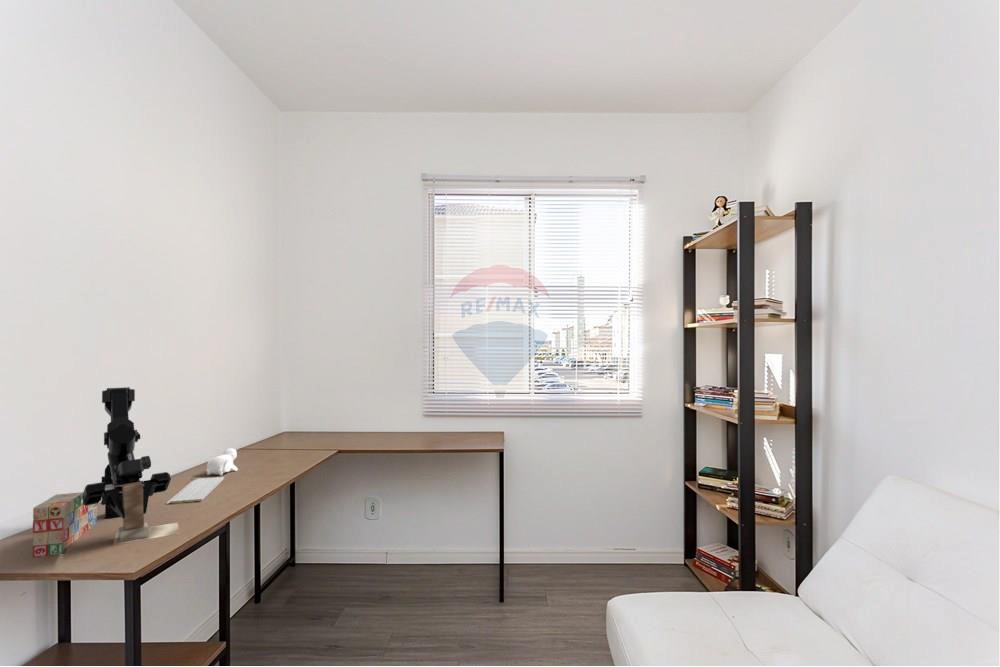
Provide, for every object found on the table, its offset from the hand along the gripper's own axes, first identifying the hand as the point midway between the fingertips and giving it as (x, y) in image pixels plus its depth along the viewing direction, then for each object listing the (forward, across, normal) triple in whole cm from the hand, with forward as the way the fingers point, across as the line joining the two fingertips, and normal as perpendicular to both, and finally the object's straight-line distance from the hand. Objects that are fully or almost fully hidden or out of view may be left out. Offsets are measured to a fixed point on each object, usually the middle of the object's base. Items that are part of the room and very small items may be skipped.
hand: (134, 515), depth 138 cm
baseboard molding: (-25, +29, +37) cm, 53 cm away
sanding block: (+3, 0, +5) cm, 6 cm away
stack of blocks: (-6, -11, +16) cm, 20 cm away
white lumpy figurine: (-41, +46, +52) cm, 81 cm away
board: (+3, +4, +7) cm, 8 cm away
